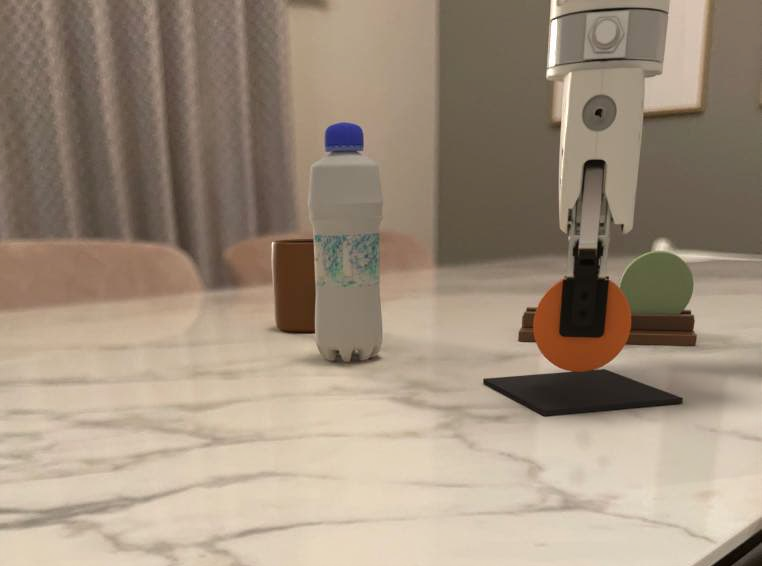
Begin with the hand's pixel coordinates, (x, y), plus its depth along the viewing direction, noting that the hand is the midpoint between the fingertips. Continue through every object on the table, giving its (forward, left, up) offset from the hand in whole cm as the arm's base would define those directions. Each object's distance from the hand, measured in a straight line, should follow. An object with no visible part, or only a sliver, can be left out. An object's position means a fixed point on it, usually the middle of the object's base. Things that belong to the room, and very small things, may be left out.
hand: (581, 332), depth 63 cm
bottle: (+13, -20, -5) cm, 24 cm away
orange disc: (0, 0, -3) cm, 3 cm away
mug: (+11, -38, -5) cm, 40 cm away
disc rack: (-15, -22, -5) cm, 27 cm away
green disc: (-19, -20, -3) cm, 28 cm away
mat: (0, 0, -5) cm, 5 cm away
